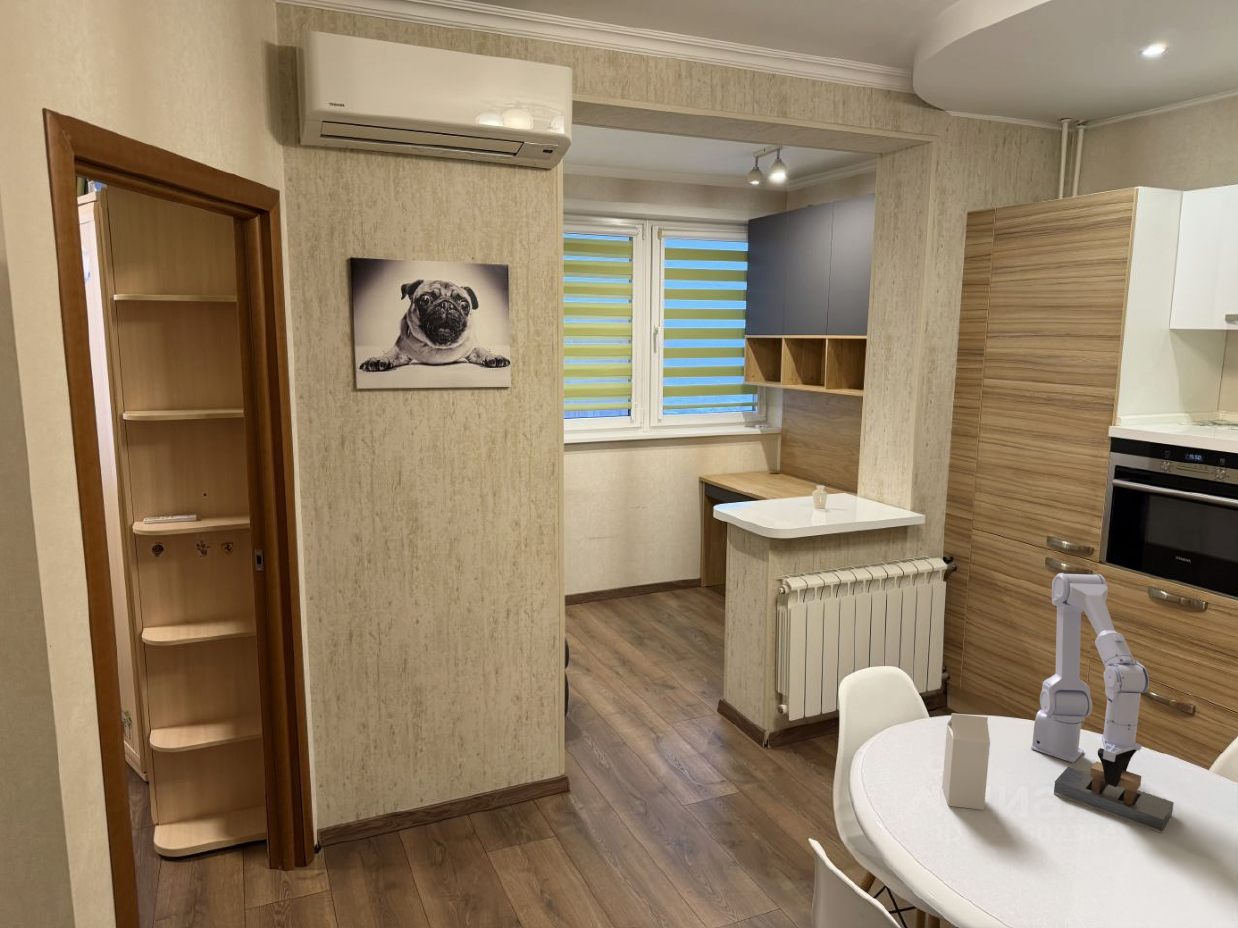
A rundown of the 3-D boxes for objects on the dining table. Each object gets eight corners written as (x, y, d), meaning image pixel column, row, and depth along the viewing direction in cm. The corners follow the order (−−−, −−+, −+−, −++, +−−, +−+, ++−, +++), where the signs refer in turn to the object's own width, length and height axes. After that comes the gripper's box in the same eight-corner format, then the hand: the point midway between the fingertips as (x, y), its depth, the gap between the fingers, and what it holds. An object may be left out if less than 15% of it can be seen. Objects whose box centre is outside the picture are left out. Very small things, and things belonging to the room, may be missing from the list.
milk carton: (984, 810, 171) (991, 724, 168) (947, 806, 173) (954, 720, 170) (976, 792, 178) (983, 709, 175) (941, 788, 180) (948, 706, 177)
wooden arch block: (1087, 798, 176) (1091, 767, 175) (1093, 791, 179) (1096, 761, 178) (1132, 814, 170) (1136, 782, 169) (1137, 806, 173) (1141, 775, 172)
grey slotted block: (1053, 793, 178) (1055, 780, 178) (1066, 778, 184) (1068, 766, 184) (1161, 833, 164) (1163, 819, 164) (1171, 815, 171) (1173, 802, 170)
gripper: (1134, 737, 164) (1126, 801, 166) (1152, 715, 174) (1144, 775, 176) (1094, 725, 169) (1088, 787, 171) (1114, 704, 179) (1107, 763, 181)
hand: (1114, 780), depth 174 cm, fingers closed on wooden arch block, 4 cm apart
